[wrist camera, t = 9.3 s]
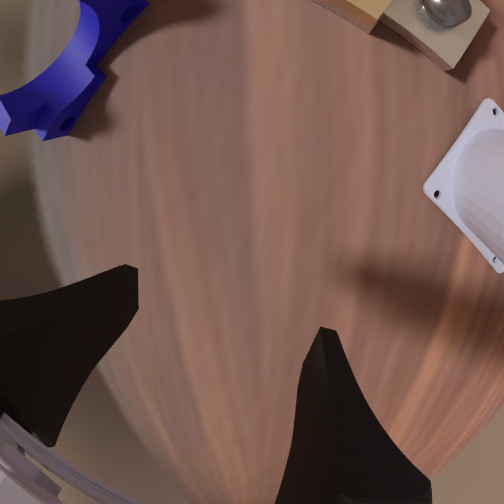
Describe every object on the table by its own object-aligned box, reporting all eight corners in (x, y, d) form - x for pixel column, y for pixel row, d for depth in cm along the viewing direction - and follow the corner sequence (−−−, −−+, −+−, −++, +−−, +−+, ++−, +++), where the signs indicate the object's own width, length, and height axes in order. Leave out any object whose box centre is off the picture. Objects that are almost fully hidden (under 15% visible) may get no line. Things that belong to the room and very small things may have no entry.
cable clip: (69, 135, 20) (12, 149, 14) (45, 102, 19) (-9, 111, 14) (162, 13, 14) (108, -10, 9) (129, -14, 14) (75, -35, 8)
